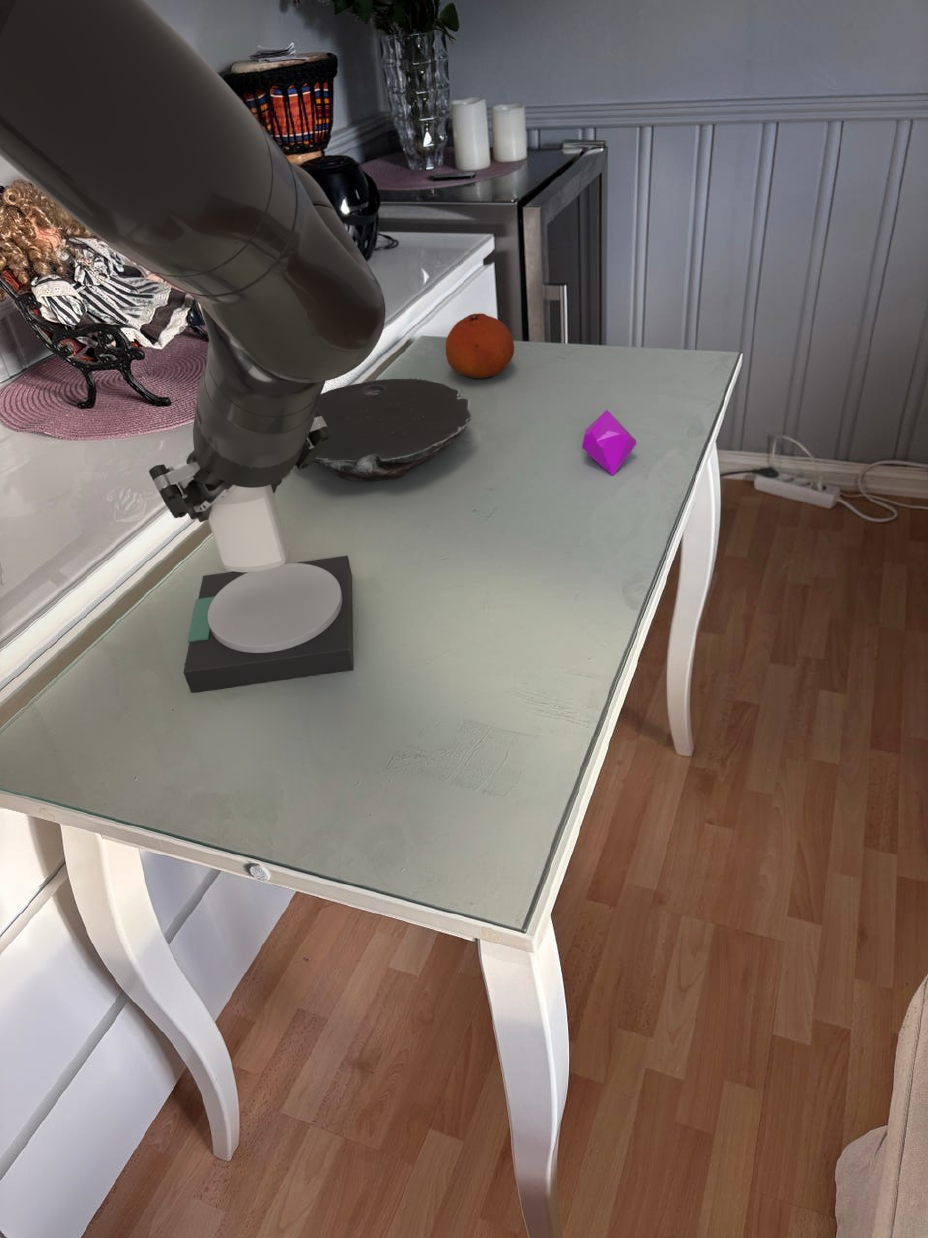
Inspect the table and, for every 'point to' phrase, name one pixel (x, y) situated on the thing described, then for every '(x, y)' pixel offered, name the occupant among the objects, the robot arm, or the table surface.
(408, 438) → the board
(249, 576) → the scale
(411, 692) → the table surface
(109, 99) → the robot arm
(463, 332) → the fruit
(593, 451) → the crystal
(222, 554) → the eye dropper bottle
